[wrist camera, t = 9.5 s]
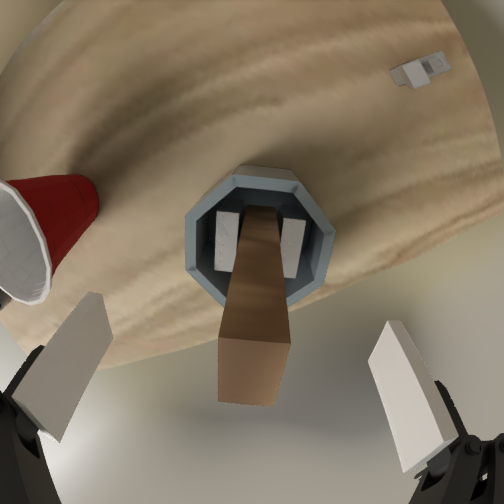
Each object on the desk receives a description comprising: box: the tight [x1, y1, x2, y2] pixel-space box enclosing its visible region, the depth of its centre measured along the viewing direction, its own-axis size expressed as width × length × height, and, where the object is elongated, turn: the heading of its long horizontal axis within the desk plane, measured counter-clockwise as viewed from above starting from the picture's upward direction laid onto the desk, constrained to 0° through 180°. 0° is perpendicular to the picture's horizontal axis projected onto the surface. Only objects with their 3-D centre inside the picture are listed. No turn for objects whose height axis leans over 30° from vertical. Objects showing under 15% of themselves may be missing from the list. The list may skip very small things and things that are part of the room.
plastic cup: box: [0, 174, 99, 305], centre depth 19 cm, size 11×11×12 cm
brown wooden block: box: [218, 204, 291, 406], centre depth 17 cm, size 2×4×16 cm, turn 175°
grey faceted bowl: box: [185, 165, 336, 308], centre depth 22 cm, size 11×11×6 cm
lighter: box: [389, 51, 451, 89], centre depth 14 cm, size 7×2×8 cm, turn 123°
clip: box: [214, 198, 306, 278], centre depth 22 cm, size 6×5×4 cm
